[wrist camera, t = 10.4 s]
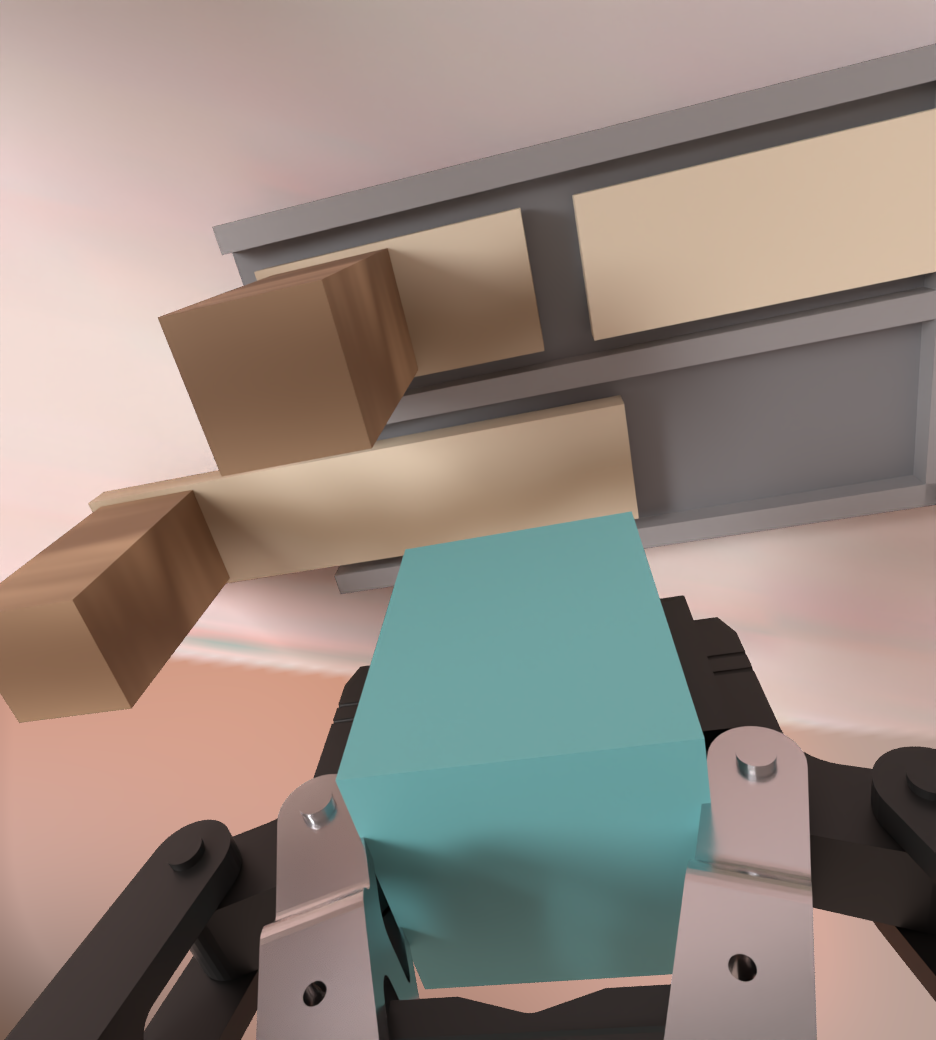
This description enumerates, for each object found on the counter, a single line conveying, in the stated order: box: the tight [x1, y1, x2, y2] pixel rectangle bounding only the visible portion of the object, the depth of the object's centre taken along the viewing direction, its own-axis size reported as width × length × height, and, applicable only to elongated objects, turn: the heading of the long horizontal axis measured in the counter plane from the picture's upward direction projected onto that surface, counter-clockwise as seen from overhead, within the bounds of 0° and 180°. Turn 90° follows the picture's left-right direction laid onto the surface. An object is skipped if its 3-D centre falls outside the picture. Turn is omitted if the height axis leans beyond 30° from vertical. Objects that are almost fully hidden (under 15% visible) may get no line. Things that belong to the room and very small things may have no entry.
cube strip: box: [0, 395, 639, 723], centre depth 21 cm, size 4×19×8 cm, turn 103°
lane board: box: [212, 44, 936, 594], centre depth 22 cm, size 13×21×2 cm, turn 102°
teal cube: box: [335, 511, 711, 989], centre depth 12 cm, size 5×5×6 cm
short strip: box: [158, 208, 544, 476], centre depth 18 cm, size 4×8×8 cm, turn 102°
